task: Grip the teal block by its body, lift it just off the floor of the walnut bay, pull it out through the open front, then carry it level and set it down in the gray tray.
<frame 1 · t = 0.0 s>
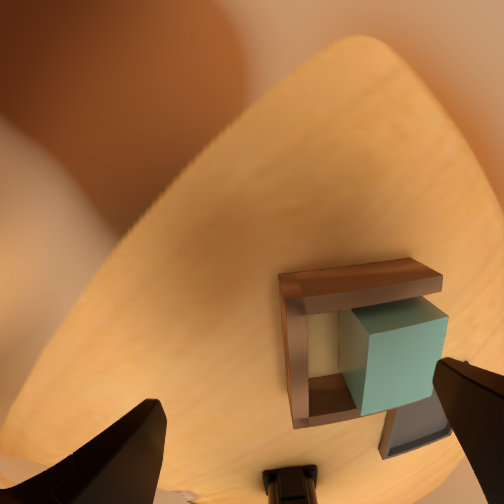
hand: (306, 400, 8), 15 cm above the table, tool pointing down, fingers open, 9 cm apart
walnut bay: (371, 326, 23), on the table
teal block: (371, 325, 24), on the table
gray tray: (422, 409, 26), on the table
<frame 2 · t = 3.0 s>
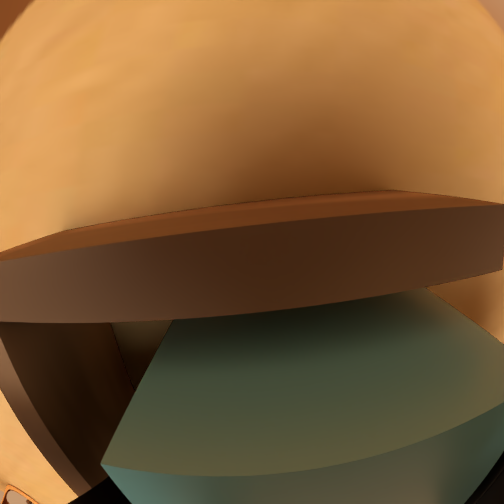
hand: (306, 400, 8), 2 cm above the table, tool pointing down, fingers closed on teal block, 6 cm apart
beer glass: (28, 499, 16), on the table
walnut bay: (298, 363, 10), on the table
teal block: (297, 363, 10), on the table, touching gripper
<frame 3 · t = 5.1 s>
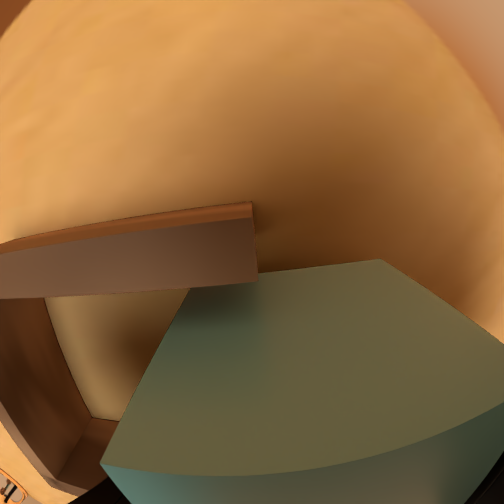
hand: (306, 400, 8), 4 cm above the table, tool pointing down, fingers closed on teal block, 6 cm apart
beer glass: (9, 479, 17), on the table
walnut bay: (181, 353, 12), on the table
teal block: (297, 363, 10), point 2 cm above the table, touching gripper
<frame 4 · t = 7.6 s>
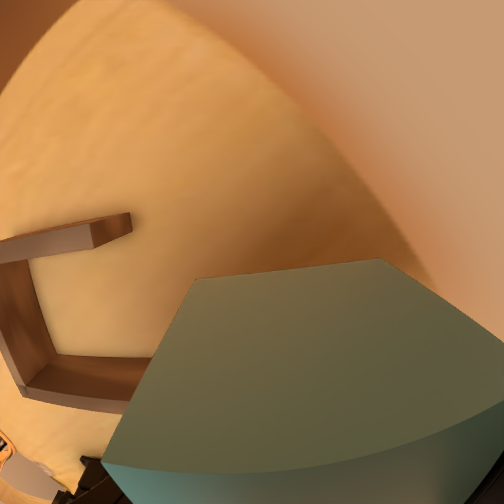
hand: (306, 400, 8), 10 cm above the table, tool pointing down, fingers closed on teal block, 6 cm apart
beer glass: (2, 438, 24), on the table
walnut bay: (101, 302, 18), on the table
teal block: (297, 362, 10), point 8 cm above the table, touching gripper
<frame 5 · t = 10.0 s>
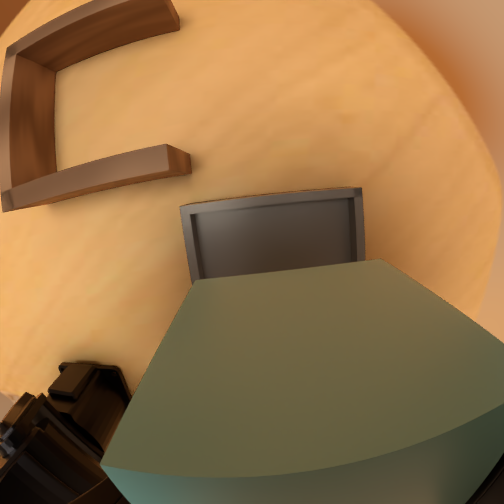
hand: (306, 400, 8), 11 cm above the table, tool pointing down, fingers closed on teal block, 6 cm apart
walnut bay: (131, 98, 16), on the table
teal block: (297, 363, 10), point 9 cm above the table, touching gripper
gray tray: (279, 281, 19), on the table
when the fingers open (4 cm above the table, at t = 12.3 s): teal block drops 1 cm, resting on gray tray.
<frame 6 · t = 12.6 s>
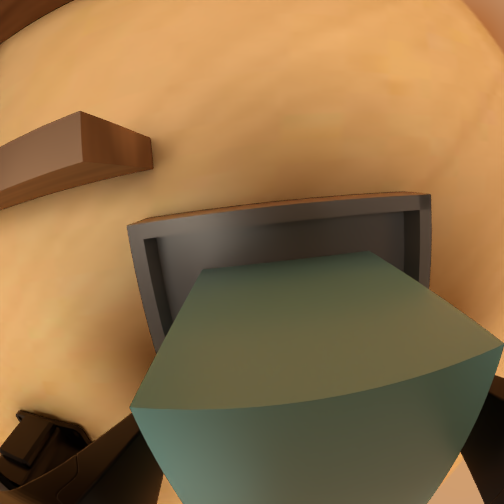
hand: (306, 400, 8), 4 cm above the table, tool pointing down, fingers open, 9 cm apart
walnut bay: (74, 64, 9), on the table
teal block: (294, 347, 11), point 1 cm above the table, touching gray tray
gray tray: (292, 337, 12), on the table
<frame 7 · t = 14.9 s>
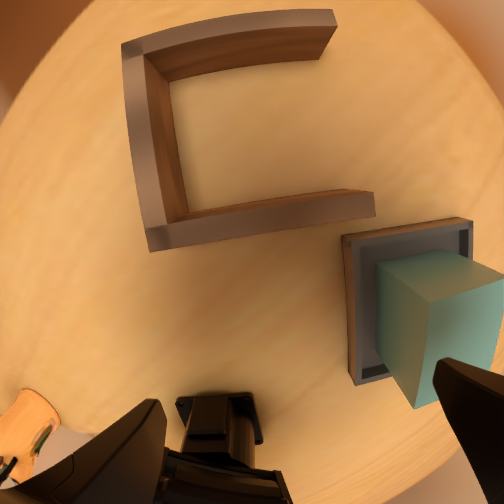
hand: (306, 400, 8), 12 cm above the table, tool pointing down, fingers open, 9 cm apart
beer glass: (40, 408, 24), on the table
walnut bay: (278, 126, 17), on the table
teal block: (412, 301, 19), point 1 cm above the table, touching gray tray
gray tray: (407, 297, 20), on the table
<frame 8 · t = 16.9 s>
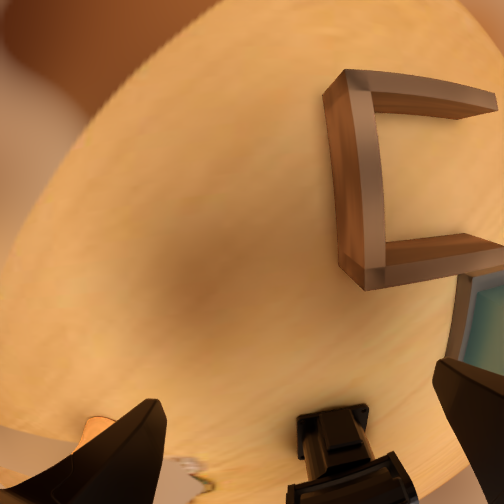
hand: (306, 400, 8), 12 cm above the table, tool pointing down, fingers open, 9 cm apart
beer glass: (112, 435, 24), on the table
walnut bay: (430, 176, 18), on the table
teal block: (491, 321, 20), point 1 cm above the table, touching gray tray
gray tray: (487, 318, 21), on the table
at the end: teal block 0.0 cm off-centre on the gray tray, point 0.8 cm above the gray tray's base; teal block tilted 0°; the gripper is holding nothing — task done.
